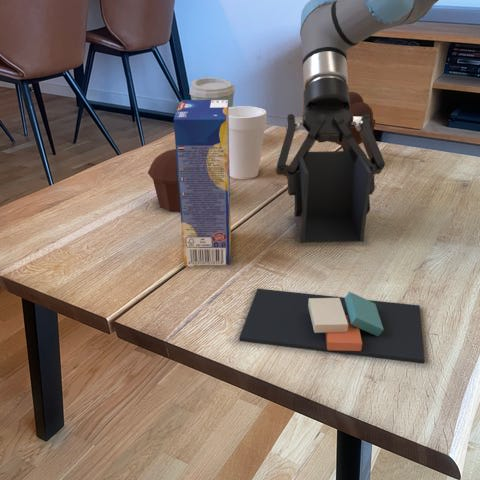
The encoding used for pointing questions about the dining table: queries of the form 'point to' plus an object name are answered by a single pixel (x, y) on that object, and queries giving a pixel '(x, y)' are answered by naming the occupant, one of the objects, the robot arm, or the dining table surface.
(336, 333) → the block
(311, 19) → the robot arm
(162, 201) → the muffin
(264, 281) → the dining table surface
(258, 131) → the foam cup
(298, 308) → the mat
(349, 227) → the basket
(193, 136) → the beverage box
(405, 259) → the dining table surface
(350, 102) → the ice cream bowl
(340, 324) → the block
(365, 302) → the block
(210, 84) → the disposable coffee cup
